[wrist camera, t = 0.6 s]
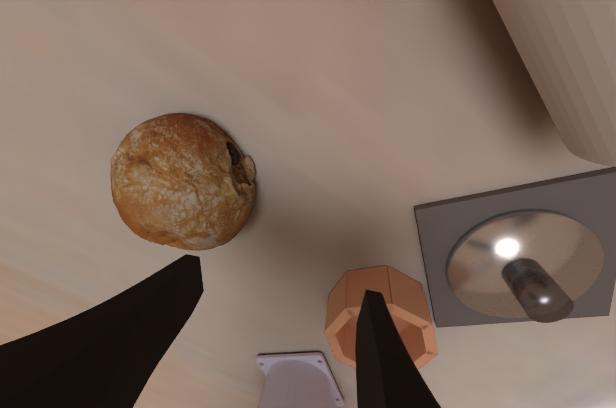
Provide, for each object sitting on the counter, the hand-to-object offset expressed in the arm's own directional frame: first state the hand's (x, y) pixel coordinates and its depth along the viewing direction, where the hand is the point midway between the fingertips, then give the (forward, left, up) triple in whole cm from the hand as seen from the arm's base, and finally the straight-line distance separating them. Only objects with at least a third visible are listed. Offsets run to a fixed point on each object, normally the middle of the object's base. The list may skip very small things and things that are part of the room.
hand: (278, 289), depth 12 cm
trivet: (-9, -13, -10) cm, 18 cm away
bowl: (-12, -2, -10) cm, 16 cm away
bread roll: (+3, +9, -10) cm, 14 cm away
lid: (-9, -13, -9) cm, 18 cm away
